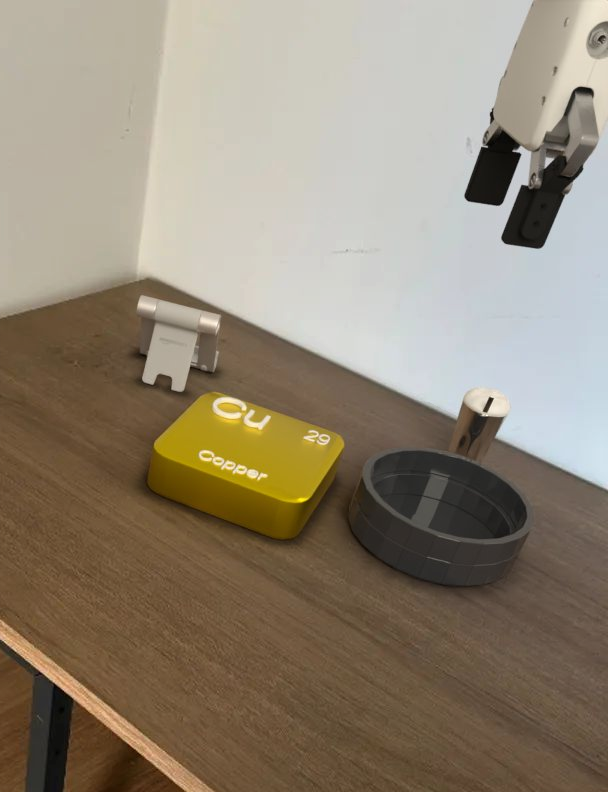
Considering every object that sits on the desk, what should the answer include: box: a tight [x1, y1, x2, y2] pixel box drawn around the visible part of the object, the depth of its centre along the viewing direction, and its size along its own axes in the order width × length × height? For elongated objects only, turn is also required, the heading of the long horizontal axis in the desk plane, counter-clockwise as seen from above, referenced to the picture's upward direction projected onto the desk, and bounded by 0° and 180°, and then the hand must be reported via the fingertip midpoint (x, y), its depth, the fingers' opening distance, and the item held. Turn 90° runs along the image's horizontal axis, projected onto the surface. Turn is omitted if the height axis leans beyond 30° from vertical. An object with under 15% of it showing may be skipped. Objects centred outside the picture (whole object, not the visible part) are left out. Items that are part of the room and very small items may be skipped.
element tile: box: [146, 391, 345, 541], centre depth 90 cm, size 15×15×5 cm
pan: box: [347, 446, 536, 587], centre depth 87 cm, size 15×15×5 cm
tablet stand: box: [136, 294, 222, 393], centre depth 104 cm, size 9×8×8 cm
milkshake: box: [447, 386, 512, 464], centre depth 95 cm, size 4×5×10 cm
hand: (500, 222), depth 75 cm, fingers open, 9 cm apart
